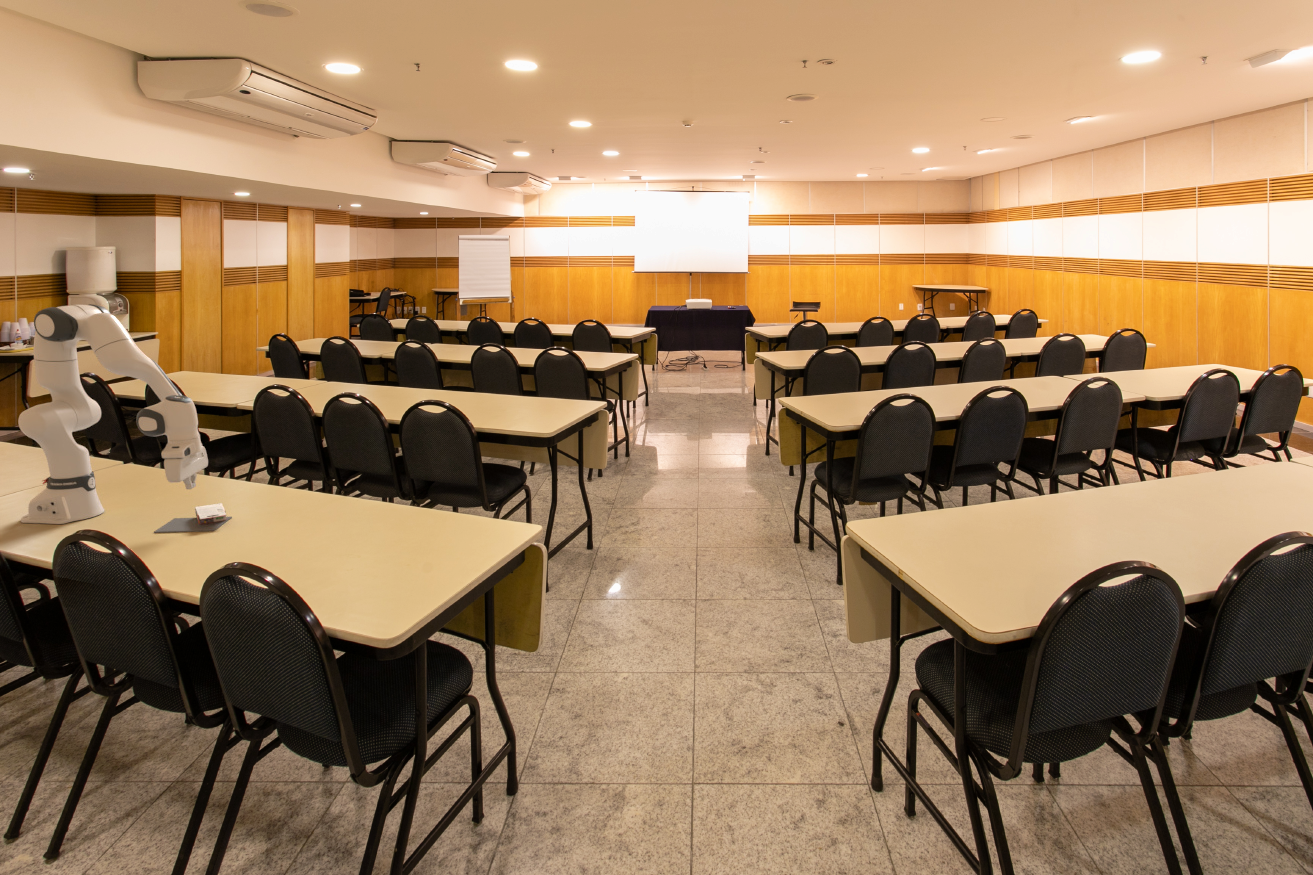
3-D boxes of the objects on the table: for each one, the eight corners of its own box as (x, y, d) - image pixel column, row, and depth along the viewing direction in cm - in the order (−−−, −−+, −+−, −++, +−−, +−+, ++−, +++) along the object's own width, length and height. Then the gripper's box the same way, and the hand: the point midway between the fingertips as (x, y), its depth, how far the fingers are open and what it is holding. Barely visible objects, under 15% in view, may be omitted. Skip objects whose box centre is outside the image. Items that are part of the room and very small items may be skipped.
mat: (153, 532, 240) (153, 531, 240) (174, 519, 253) (174, 518, 253) (214, 531, 242) (214, 529, 242) (231, 517, 255) (231, 516, 255)
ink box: (222, 512, 259) (228, 525, 247) (195, 516, 254) (200, 529, 243) (221, 502, 258) (227, 514, 246) (194, 506, 253) (198, 518, 242)
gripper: (190, 439, 252) (195, 479, 256) (158, 454, 233) (164, 497, 236) (210, 438, 253) (215, 478, 256) (180, 454, 233) (186, 497, 236)
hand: (191, 488), depth 246 cm, fingers closed
